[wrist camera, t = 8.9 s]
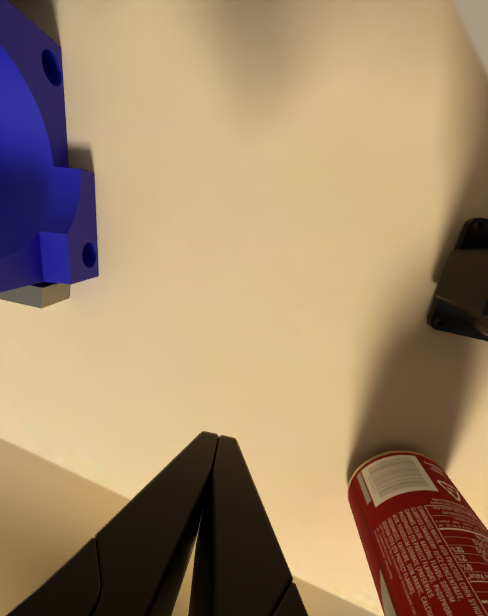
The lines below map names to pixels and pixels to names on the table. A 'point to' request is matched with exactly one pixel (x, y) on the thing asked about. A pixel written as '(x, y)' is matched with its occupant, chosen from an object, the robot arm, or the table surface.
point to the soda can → (419, 537)
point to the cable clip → (39, 166)
